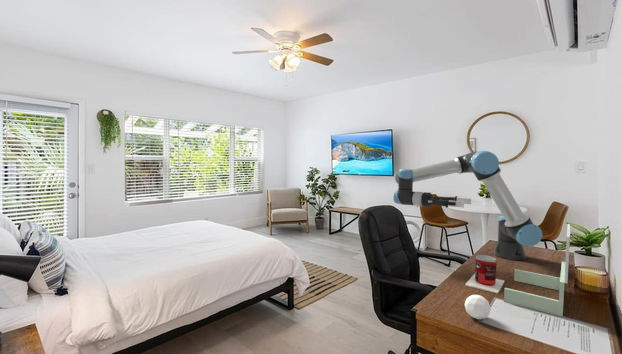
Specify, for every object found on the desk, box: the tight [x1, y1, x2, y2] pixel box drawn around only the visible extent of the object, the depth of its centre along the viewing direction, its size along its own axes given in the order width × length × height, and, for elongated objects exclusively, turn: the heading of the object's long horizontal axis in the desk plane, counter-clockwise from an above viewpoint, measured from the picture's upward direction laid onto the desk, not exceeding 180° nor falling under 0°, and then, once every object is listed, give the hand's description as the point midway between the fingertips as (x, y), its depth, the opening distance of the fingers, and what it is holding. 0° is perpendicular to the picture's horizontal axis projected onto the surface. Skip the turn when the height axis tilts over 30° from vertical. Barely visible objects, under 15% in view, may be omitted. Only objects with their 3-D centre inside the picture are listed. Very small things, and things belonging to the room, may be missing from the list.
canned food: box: [474, 254, 498, 286], centre depth 131 cm, size 8×8×11 cm
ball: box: [464, 294, 492, 320], centre depth 103 cm, size 8×8×8 cm
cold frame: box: [503, 223, 571, 318], centre depth 119 cm, size 28×18×28 cm, turn 139°
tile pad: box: [465, 273, 505, 295], centre depth 131 cm, size 16×12×1 cm
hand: (467, 202), depth 144 cm, fingers open, 13 cm apart
